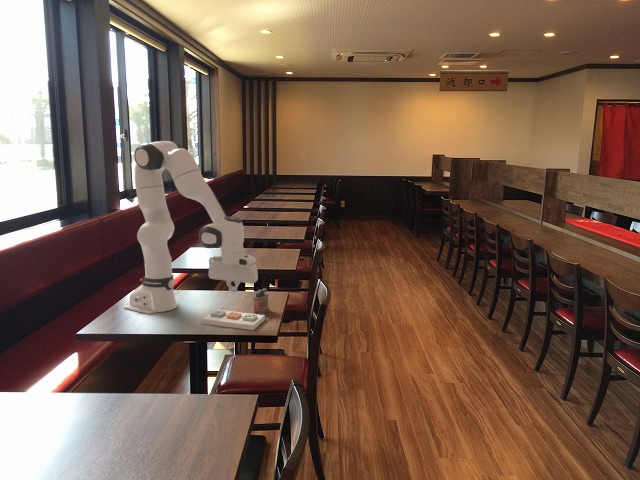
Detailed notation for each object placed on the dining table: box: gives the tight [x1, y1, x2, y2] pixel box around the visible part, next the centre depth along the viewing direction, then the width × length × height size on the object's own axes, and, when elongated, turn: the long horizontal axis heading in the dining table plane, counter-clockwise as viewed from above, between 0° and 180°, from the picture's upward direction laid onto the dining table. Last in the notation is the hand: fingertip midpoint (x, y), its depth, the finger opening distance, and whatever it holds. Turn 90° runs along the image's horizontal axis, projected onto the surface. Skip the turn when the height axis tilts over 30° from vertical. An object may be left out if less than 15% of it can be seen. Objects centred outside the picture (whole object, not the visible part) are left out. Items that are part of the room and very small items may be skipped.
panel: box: [201, 309, 266, 331], centre depth 207 cm, size 22×12×2 cm, turn 74°
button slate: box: [210, 309, 227, 318], centre depth 209 cm, size 4×4×3 cm
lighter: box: [252, 287, 270, 315], centre depth 218 cm, size 8×3×10 cm, turn 143°
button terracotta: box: [227, 311, 241, 320], centre depth 207 cm, size 4×4×3 cm
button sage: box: [243, 313, 257, 322], centre depth 205 cm, size 4×4×3 cm
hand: (233, 291), depth 205 cm, fingers closed
